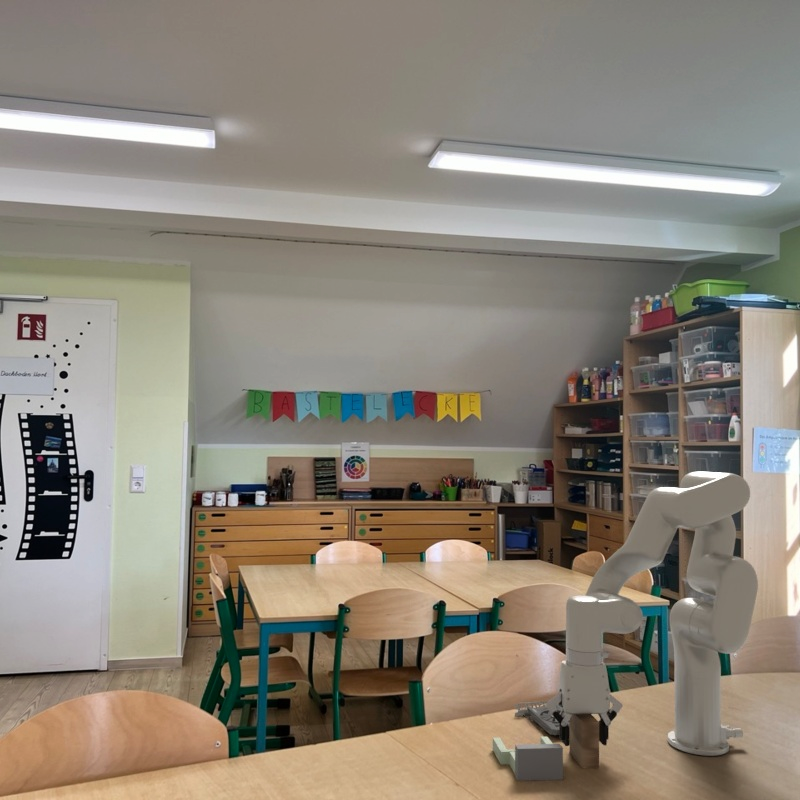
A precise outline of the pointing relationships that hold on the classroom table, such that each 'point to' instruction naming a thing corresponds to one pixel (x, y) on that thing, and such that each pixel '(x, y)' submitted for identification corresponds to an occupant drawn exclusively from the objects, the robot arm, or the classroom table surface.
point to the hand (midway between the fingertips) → (583, 742)
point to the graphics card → (541, 716)
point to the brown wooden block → (584, 740)
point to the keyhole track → (532, 759)
